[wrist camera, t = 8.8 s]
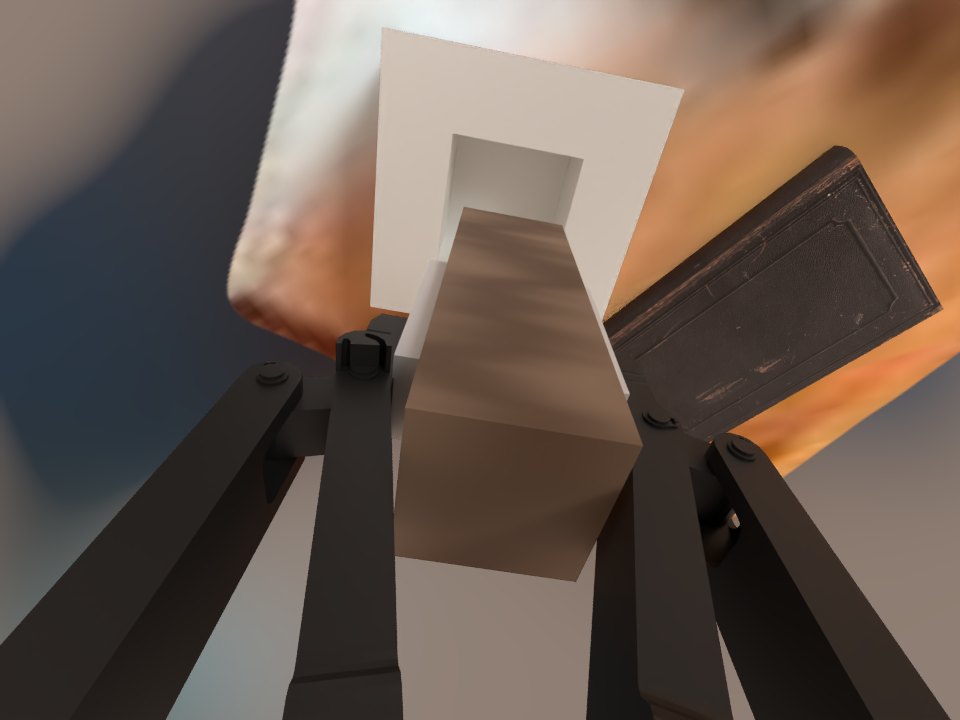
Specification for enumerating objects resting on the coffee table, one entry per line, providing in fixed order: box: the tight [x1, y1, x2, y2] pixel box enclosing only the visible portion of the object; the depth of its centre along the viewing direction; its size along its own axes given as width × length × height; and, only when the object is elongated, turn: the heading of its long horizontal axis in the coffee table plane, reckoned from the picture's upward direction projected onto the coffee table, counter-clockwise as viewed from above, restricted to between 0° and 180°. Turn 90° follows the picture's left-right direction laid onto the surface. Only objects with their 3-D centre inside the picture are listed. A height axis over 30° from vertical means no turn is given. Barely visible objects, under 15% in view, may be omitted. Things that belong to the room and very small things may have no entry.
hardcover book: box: [603, 146, 943, 443], centre depth 38 cm, size 16×23×2 cm
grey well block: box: [370, 27, 685, 320], centre depth 31 cm, size 16×16×6 cm
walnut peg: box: [394, 207, 643, 582], centre depth 15 cm, size 4×4×14 cm
